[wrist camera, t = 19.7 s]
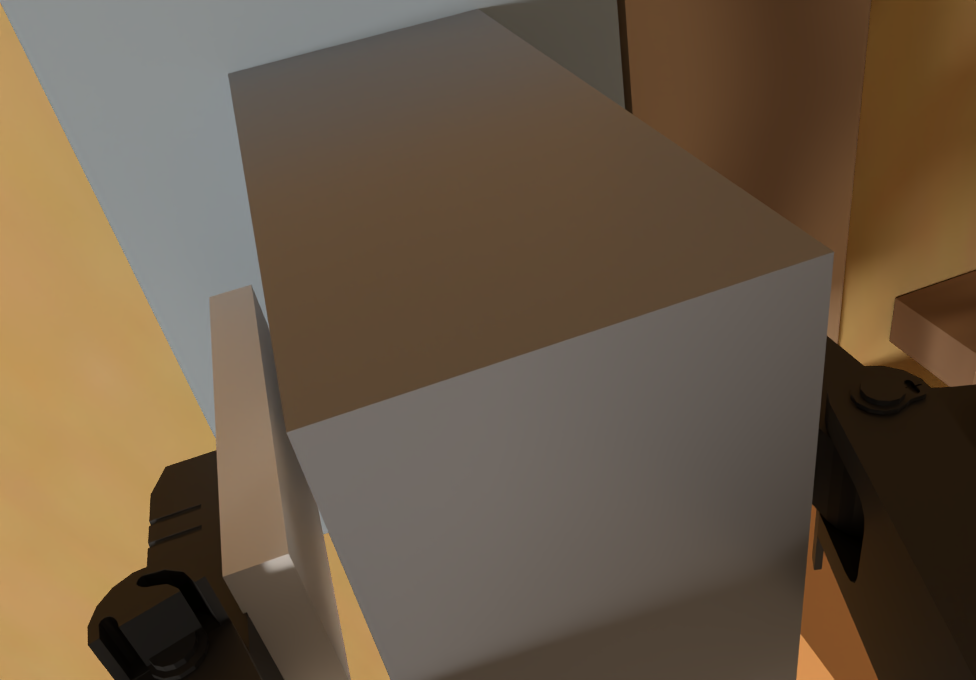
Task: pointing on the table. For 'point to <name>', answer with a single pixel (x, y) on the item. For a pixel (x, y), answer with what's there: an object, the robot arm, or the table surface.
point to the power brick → (534, 363)
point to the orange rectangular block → (828, 628)
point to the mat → (225, 120)
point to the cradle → (783, 131)
